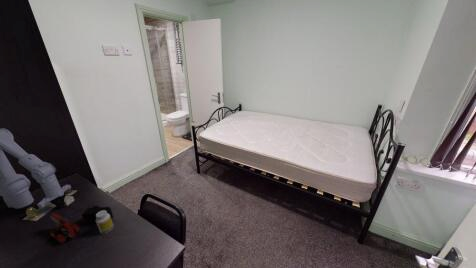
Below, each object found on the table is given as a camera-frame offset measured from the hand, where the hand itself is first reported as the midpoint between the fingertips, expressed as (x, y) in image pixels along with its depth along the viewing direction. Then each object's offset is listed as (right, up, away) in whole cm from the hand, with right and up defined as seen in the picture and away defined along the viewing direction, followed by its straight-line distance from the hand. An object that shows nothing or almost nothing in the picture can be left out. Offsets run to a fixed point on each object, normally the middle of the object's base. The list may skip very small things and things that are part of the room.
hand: (61, 207), depth 93 cm
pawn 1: (-8, -2, -6) cm, 10 cm away
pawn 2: (-7, +4, +11) cm, 13 cm away
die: (0, 0, +4) cm, 4 cm away
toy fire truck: (+16, -7, -13) cm, 22 cm away
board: (-7, 0, +3) cm, 8 cm away
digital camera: (+26, -4, -6) cm, 27 cm away
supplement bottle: (+32, -6, -10) cm, 34 cm away
